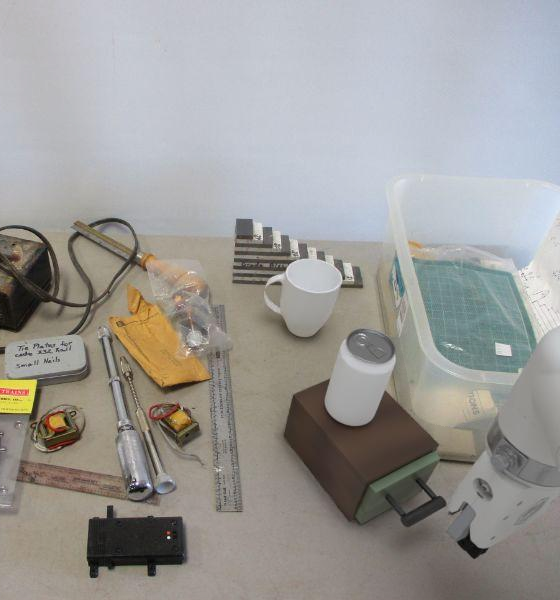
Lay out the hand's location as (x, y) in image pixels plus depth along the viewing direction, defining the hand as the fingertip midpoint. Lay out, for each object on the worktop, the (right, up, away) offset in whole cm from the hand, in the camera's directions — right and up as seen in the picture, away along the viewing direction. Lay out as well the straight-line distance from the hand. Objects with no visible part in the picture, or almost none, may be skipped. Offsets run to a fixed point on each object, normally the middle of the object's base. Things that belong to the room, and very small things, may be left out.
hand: (467, 544), depth 65 cm
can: (-9, +13, +12) cm, 20 cm away
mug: (-11, +22, +37) cm, 45 cm away
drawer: (-6, +3, +14) cm, 16 cm away
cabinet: (-8, +5, +18) cm, 20 cm away
